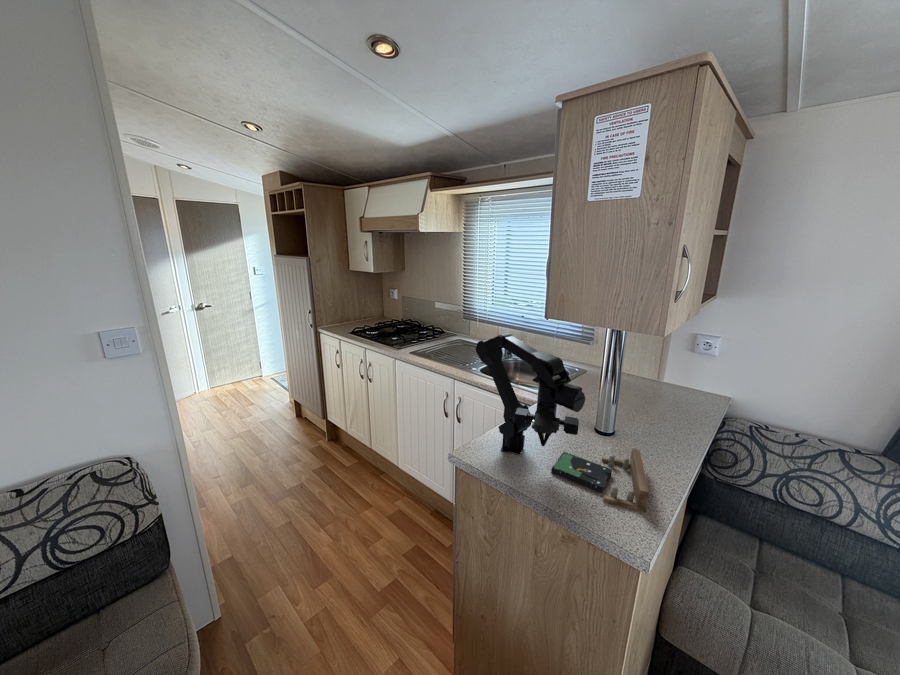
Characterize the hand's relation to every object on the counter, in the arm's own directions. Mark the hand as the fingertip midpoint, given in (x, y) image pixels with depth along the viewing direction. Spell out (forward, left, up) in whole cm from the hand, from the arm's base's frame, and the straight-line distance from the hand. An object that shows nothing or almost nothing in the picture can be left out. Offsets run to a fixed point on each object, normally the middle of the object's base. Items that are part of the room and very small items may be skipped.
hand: (543, 445), depth 107 cm
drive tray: (+23, 0, -7) cm, 24 cm away
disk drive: (+12, 0, -8) cm, 14 cm away
